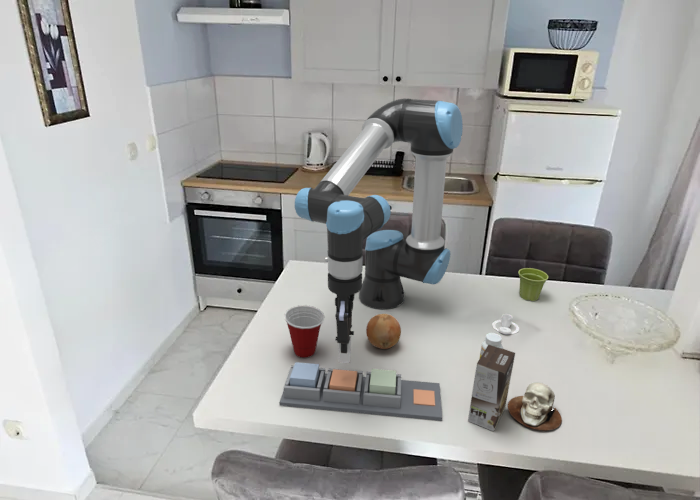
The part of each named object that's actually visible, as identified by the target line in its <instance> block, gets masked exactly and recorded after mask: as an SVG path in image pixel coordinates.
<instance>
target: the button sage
mask: <svg viewBox="0 0 700 500" xmlns="http://www.w3.org/2000/svg"><path fill="white" fill-rule="evenodd" d="M370 372H371V379H370V391H369V393H374V394H385V395H395V388H396V374H397V370H393V369H392V370H391V369H381V368H379V369H378V368H371V370H370Z"/></svg>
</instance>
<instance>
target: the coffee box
mask: <svg viewBox="0 0 700 500" xmlns="http://www.w3.org/2000/svg"><path fill="white" fill-rule="evenodd" d="M515 357H516V352H515V351H514V352H513V351H511V350H508V349H504V348H503V349H502V348H498V347H494V346H491V345H488V346H487V348H486V349H485V351H484V353H483V354H482V356H481V358H480V357H479V358H480V359H479V358H478V359H479V360H478V361H477V362H476V366H475V373H474V377H473V378H474V379H473V385H472V393H471V399H470V405H469V411H468V412H469V413H468V418H467V421H468V422H469V423H472V424H475V425H478V426H480V427H482V428H484V429H487V430H489V431H491V432H494V431H495V430H496V428H497V426H498V424H499V421H500V420H501V418H502V416H503V413H504V412H505V410H506V405H507V399H508V395H509V390H510V384H511V377H512V373H513V368H514V367H513V366H514V363H515Z"/></svg>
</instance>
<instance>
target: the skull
mask: <svg viewBox="0 0 700 500" xmlns="http://www.w3.org/2000/svg"><path fill="white" fill-rule="evenodd" d="M555 396H556V395H555V392H554V391H553V389H551V387H550V386H548V384H545V383H543V382H531V383H530V384H527V387H526V390H525V392H524V395H518V396H514V397H512V398H511V399H510V400H509V401H508V403H507V410H508V413H509V414H510V415H511V417H512V418H513V419H514V420H515V421H517V422H518V423H519V424H522V425H523V426H524V427H527V428H530V429H532V430H536V431H537V430H539V431H543V432H544V431H553V430H556V429H558V428H559V427H560V426H561V424H562V421H563V418H562V414H561V413H560V411H559V410H558V409H557V408H556V407H555V408H554V407H553V405H554V402H555ZM552 408H553V409H554V410H553V411H551V410H552Z"/></svg>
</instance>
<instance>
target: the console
mask: <svg viewBox="0 0 700 500" xmlns="http://www.w3.org/2000/svg"><path fill="white" fill-rule="evenodd" d="M294 365H295V364H294ZM294 365H291V366H290V368H289V370H288V373H287V377H286V380H285V383H284V385H283V391H282V393H281V396H280V400H279V402H278V403H279V406H281V407H291V408H292V407H293V408H301V409H302V408H303V409H312V410H321V411H322V410H323V411H332V412H333V411H334V412H343V413H355V414H364V415H365V414H366V415H375V416H376V415H377V416H388V417H396V418H397V417H399V418H408V419H418V420H419V419H420V420H429V421H440V422H442V421H443V411H442V410H443V409H442V400H441V398H442V397H441V396H442V395H441V385H440V382H430V381H429V382H428V381H419V380H406V379H402V374H398V373H396V388H395V395H385V394H374V393H369V391H370V379H371V371H366V373H365V376H364V371H362V370H356V371H357V385H356V391H355V392H352V391H341V390H330V389H329V385H330V381H331V376H332V372H333V369H334V368H328V370H327V372H326V367H319V377H318V381H317V384H316V388H307V387H296V386H290V376H291V373H292V370H293V367H294ZM335 369H336V370H344V368H342V369H341V368H340V369H339V368H335ZM347 370H348V371H355V370H354V369H353V370H352V369H347Z"/></svg>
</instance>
